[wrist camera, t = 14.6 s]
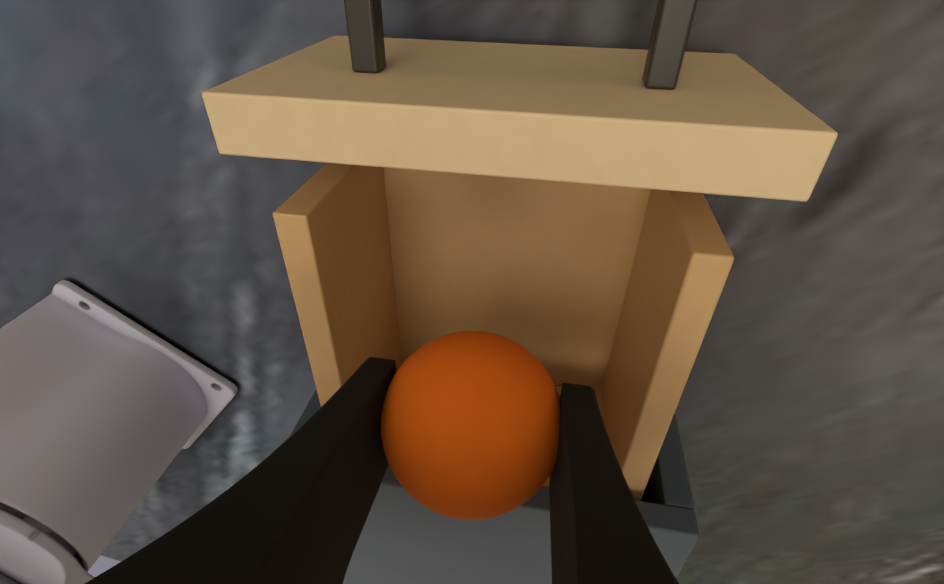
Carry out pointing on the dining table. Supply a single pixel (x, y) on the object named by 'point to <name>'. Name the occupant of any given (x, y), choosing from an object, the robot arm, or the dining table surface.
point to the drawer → (519, 200)
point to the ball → (471, 425)
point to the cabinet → (502, 531)
